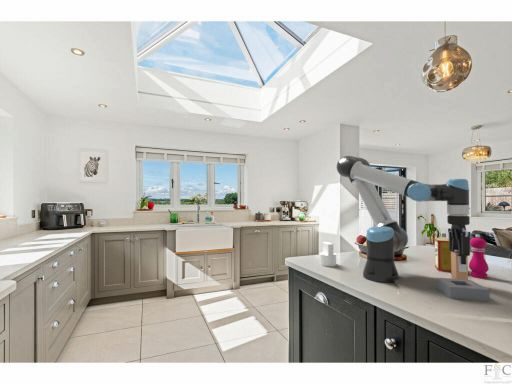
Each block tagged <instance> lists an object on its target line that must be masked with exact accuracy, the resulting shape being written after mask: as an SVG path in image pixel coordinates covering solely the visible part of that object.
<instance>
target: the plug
mask: <svg viewBox="0 0 512 384" xmlns="http://www.w3.org/2000/svg"><path fill="white" fill-rule="evenodd" d="M457 255H459V250H454V252H451V272H450V273H451V278H452V279H468V280H469V269H468V268H469V263H468V259H469V258H468V257H469V256H467V257H466V263H467V272H459V271H458V256H457Z"/></svg>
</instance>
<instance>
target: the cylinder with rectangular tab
mask: <svg viewBox="0 0 512 384" xmlns="http://www.w3.org/2000/svg"><path fill="white" fill-rule="evenodd" d="M319 265H321V266H323V267H335V266H337V253H336V252H334V243H331V242H329V241H323V242H322V252H319Z"/></svg>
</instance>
